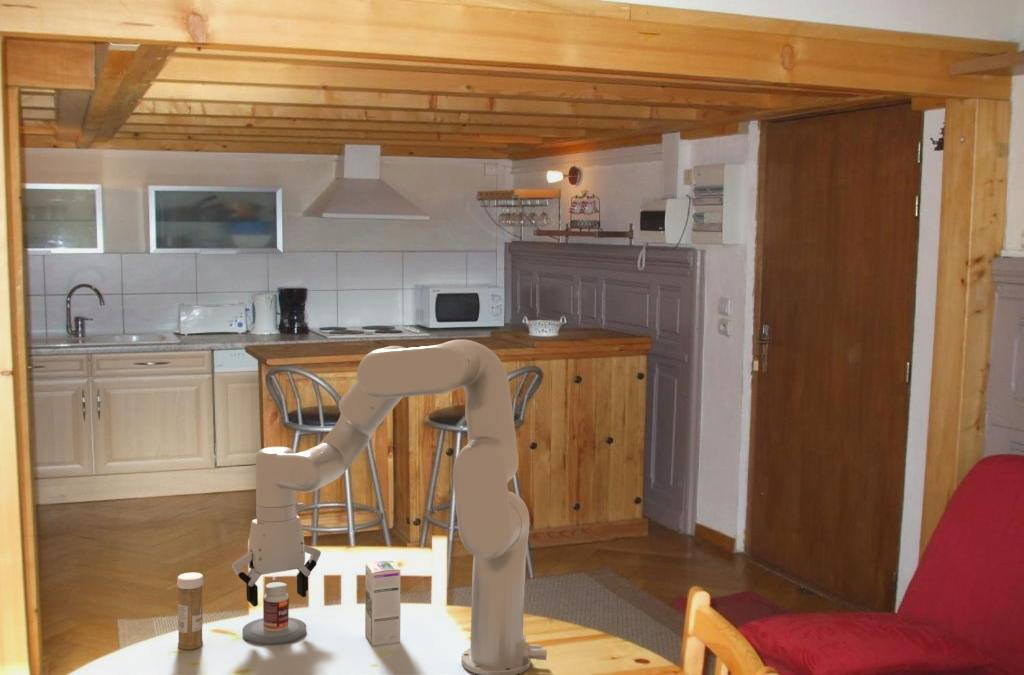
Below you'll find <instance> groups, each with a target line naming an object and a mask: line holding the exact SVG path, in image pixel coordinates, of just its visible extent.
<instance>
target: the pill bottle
mask: <svg viewBox="0 0 1024 675" xmlns="http://www.w3.org/2000/svg"><path fill="white" fill-rule="evenodd" d="M287 592H288V584H287V583H285V582H280V581H275V582H270V583H267V584H266V585H265V594H264V596H263V603H262V604H263V614H262V615H263V617H262V618H263V628H264V629H265V630H267V631H272V632H277V631H282V630H285V629H286V628H288V617H289V614H290V612H289V609H290V606H289V604H290V597H289V594H288V593H287Z"/></svg>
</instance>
